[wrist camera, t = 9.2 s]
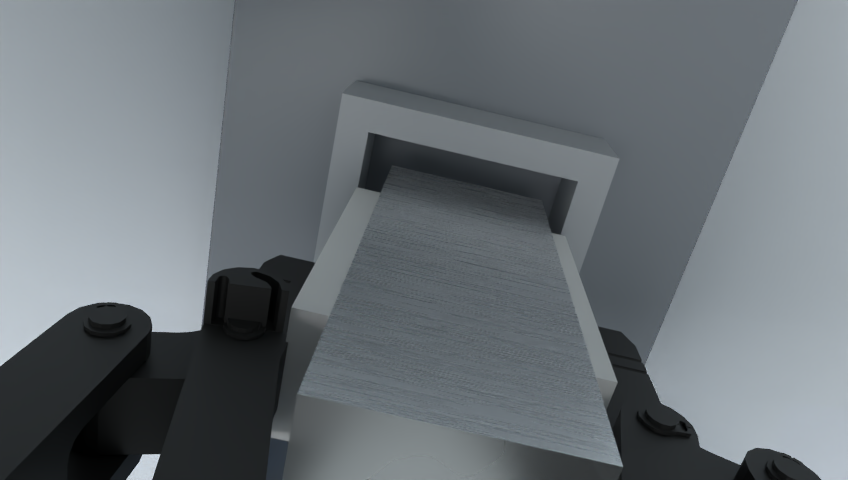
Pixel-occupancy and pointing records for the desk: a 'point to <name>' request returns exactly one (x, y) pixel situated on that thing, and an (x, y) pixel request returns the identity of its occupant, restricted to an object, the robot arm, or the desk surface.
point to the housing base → (494, 125)
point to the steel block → (452, 350)
